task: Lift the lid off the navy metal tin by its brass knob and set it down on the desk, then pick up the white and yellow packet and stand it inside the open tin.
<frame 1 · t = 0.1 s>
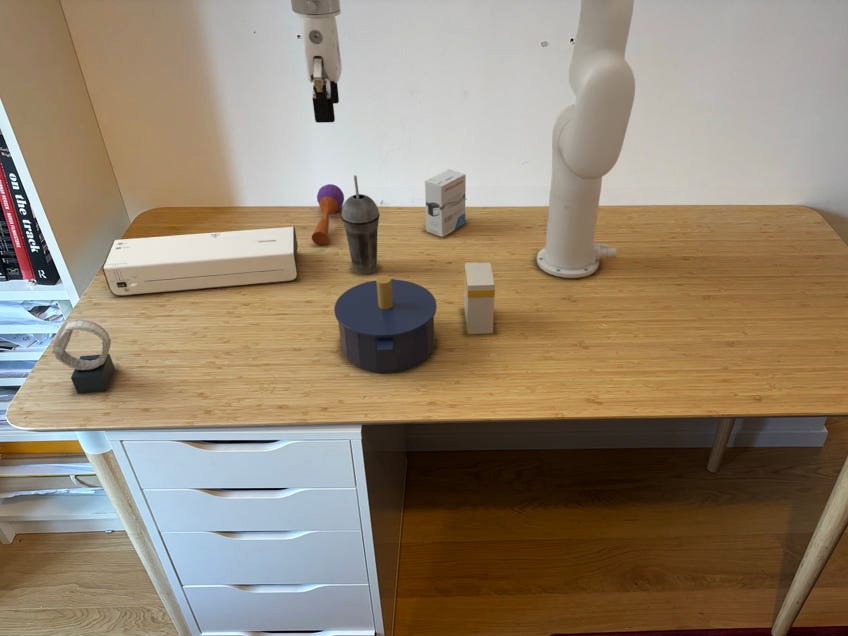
hand: (327, 112, 123), 31 cm above the table, tool pointing down, fingers open, 9 cm apart
laminator: (210, 276, 139), on the table
kendama: (327, 224, 157), on the table
ink box: (445, 228, 157), on the table
packet: (478, 321, 128), on the table
tin: (388, 344, 122), on the table
watch: (96, 382, 113), on the table
tin lid: (385, 308, 118), point 7 cm above the table, touching tin
beverage cup: (365, 269, 142), on the table
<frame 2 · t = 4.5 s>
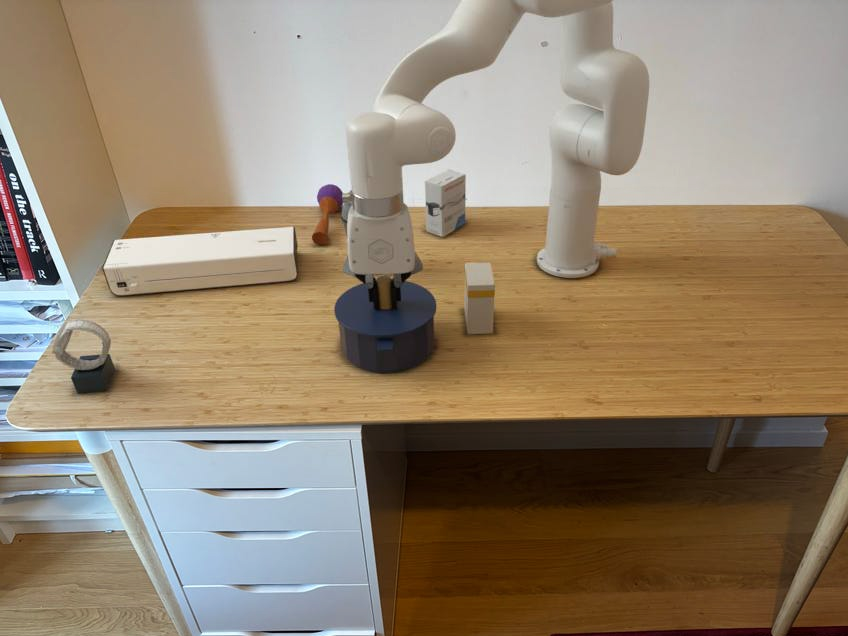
hand: (385, 303, 117), 8 cm above the table, tool pointing down, fingers closed on tin lid, 2 cm apart
tin lid: (385, 308, 118), point 8 cm above the table, touching gripper, tin
everything else where it was.
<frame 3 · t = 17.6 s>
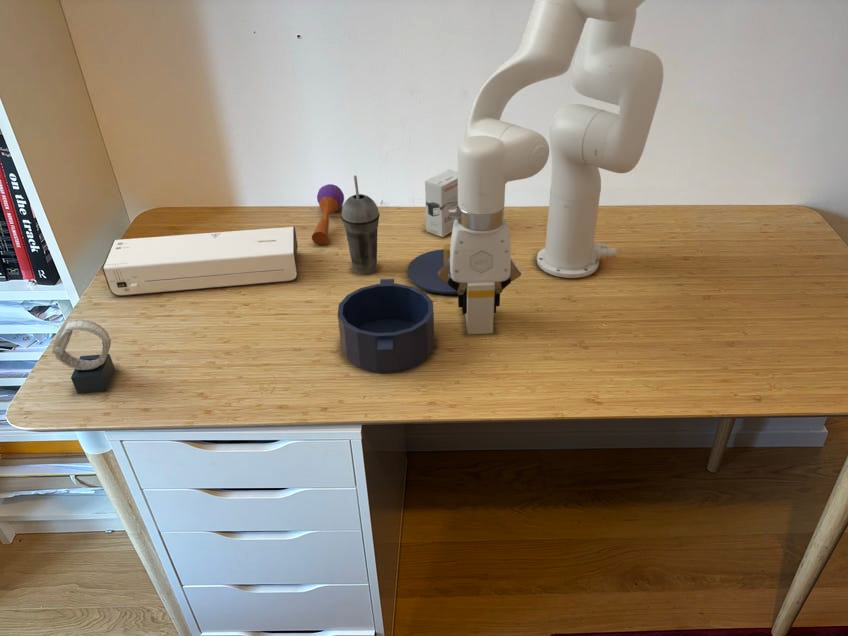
hand: (478, 308, 127), 3 cm above the table, tool pointing down, fingers closed on packet, 4 cm apart
packet: (478, 321, 128), on the table, touching gripper
tin lid: (449, 271, 141), point 1 cm above the table
everything else where it was.
when the fingers open (3 cm above the table, at t = 26.4 s): packet stays where it is, resting on tin.
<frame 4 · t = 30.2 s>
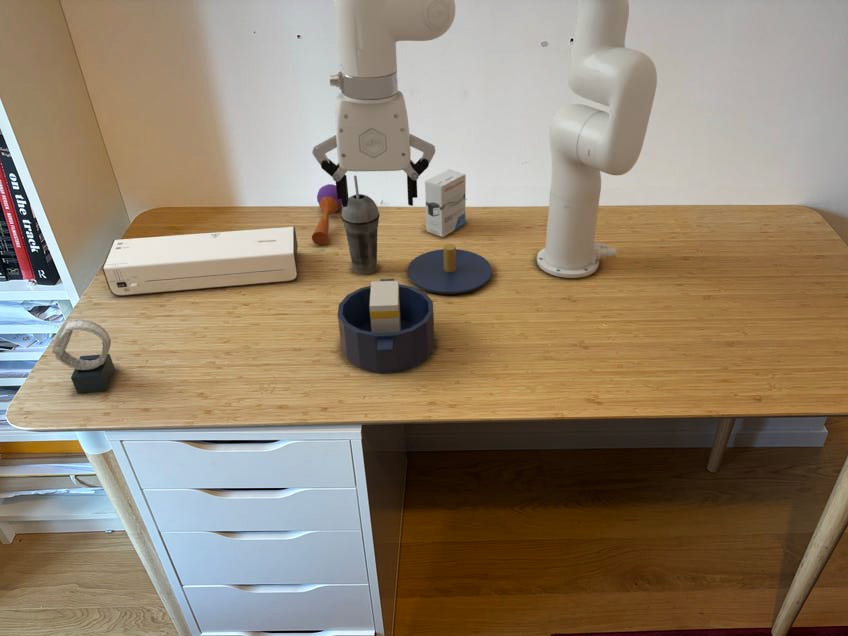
hand: (378, 202, 106), 26 cm above the table, tool pointing down, fingers open, 9 cm apart
packet: (387, 342, 122), resting on tin
everything else where it was.
at the end: tin lid inside the target area (0.2 cm from its centre), point 0.6 cm above the table; packet inside the target area in the tin (0.1 cm from its centre), point 0.5 cm above the tin's base; packet tilted 0° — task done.
